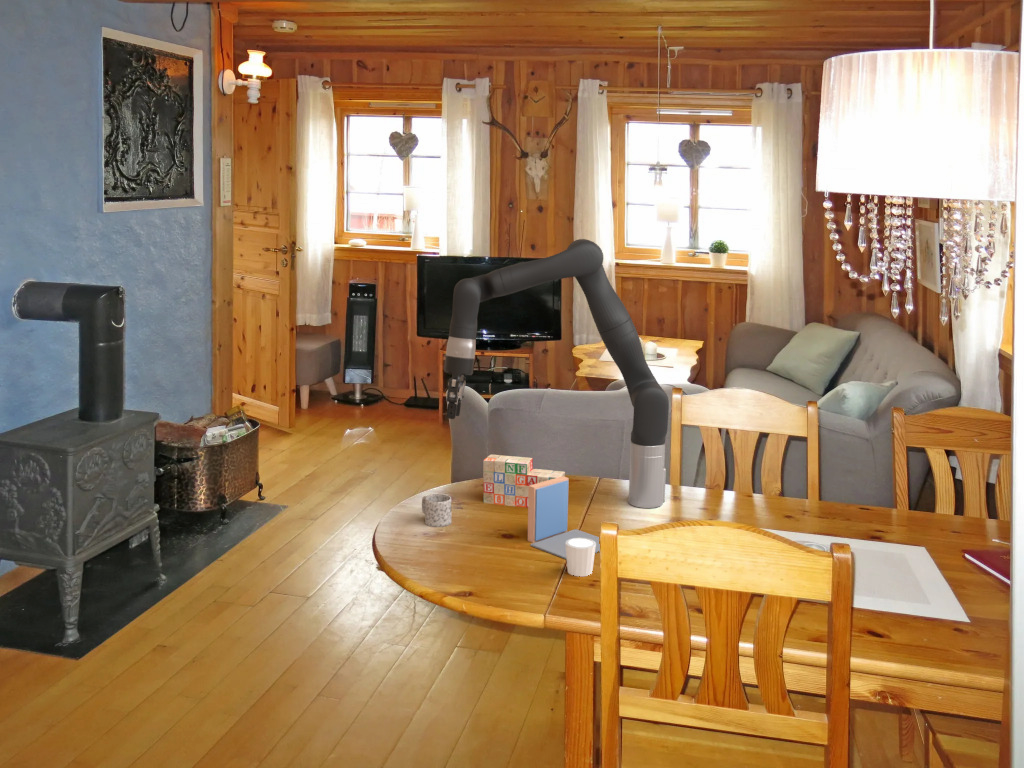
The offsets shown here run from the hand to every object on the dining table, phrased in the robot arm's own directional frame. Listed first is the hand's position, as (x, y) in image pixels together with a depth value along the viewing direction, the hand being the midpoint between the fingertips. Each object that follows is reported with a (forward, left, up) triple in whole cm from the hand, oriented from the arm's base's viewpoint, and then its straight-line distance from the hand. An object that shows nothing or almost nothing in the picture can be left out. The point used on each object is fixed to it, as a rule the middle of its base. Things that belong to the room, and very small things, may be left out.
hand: (453, 417), depth 269 cm
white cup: (+7, +52, -25) cm, 58 cm away
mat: (-4, +40, -25) cm, 47 cm away
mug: (+10, +4, -25) cm, 27 cm away
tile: (-4, +31, -25) cm, 40 cm away
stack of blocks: (-18, +9, -26) cm, 32 cm away
